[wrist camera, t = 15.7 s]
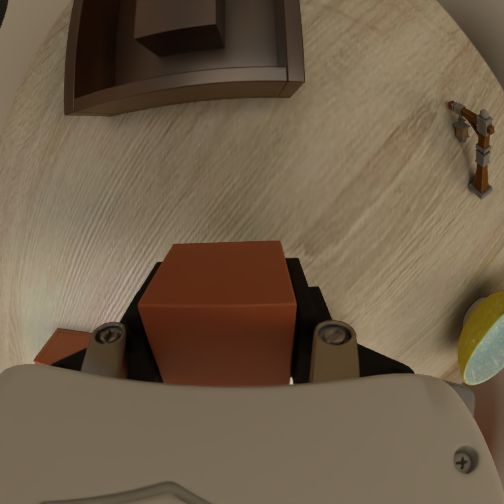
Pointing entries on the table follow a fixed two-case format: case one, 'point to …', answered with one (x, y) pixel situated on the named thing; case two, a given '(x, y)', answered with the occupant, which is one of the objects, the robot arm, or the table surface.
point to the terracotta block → (222, 314)
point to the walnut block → (179, 25)
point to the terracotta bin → (62, 346)
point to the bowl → (482, 339)
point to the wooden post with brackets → (483, 147)
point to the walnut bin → (179, 59)
